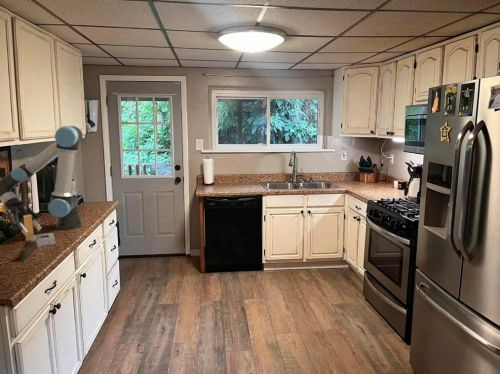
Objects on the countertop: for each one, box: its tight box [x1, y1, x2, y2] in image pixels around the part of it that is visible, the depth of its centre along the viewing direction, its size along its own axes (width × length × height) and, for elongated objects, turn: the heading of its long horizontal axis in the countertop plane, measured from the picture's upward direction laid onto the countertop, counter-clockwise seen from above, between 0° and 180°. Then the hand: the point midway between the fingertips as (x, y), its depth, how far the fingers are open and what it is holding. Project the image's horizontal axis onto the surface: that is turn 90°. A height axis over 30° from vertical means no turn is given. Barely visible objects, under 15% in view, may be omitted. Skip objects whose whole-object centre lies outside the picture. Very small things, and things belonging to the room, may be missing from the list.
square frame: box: [30, 232, 56, 247], centre depth 210 cm, size 11×11×4 cm
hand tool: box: [20, 242, 38, 261], centre depth 191 cm, size 19×4×5 cm, turn 12°
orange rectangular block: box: [22, 215, 35, 242], centre depth 215 cm, size 4×4×14 cm
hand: (33, 231), depth 214 cm, fingers open, 8 cm apart
